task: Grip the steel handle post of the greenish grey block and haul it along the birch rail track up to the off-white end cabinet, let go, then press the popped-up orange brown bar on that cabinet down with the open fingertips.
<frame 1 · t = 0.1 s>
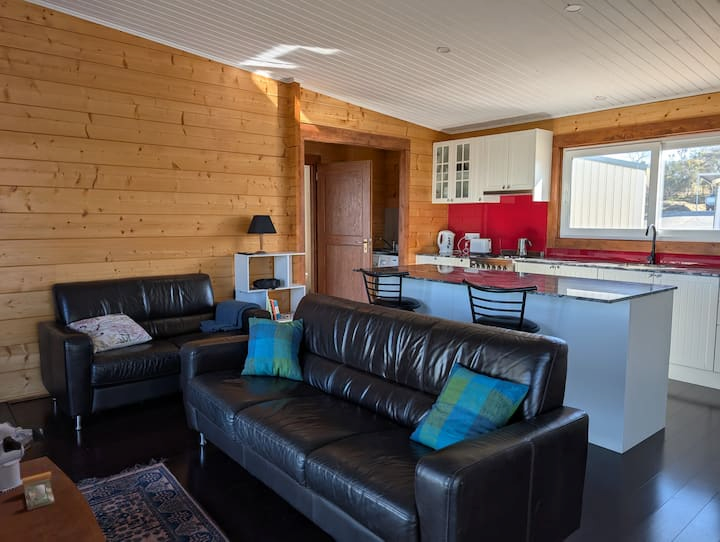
hand: (31, 442, 184), 21 cm above the table, tool horizontal, fingers open, 7 cm apart
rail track: (40, 502, 185), on the table
orange brown bar: (36, 478, 191), point 5 cm above the table, slide at 0.0 cm
greenish grey block: (40, 493, 183), point 4 cm above the table, slide at 0.0 cm
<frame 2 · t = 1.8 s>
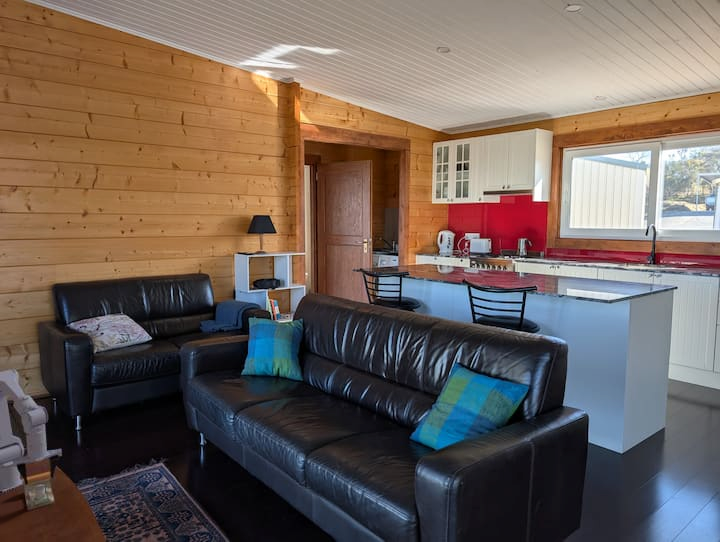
hand: (39, 480, 183), 9 cm above the table, tool pointing down, fingers open, 7 cm apart
nothing on the table moved.
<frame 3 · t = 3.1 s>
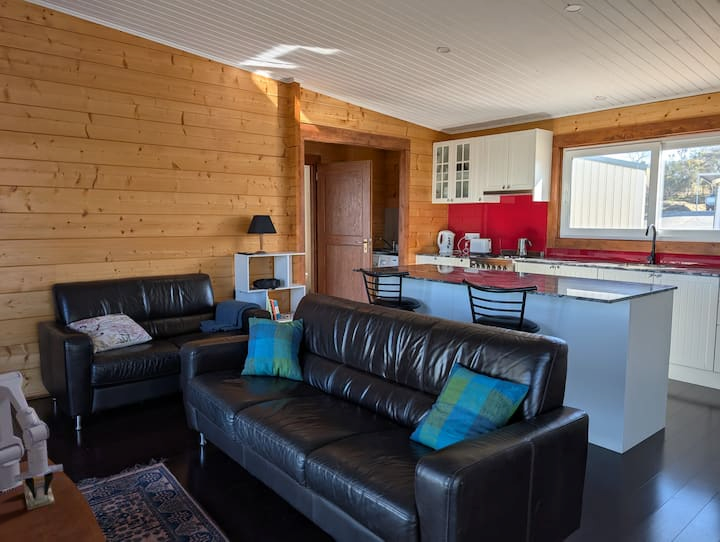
hand: (40, 495, 184), 3 cm above the table, tool pointing down, fingers closed on greenish grey block, 3 cm apart
greenish grey block: (40, 493, 183), point 4 cm above the table, slide at 0.0 cm, touching gripper
everything else where it was.
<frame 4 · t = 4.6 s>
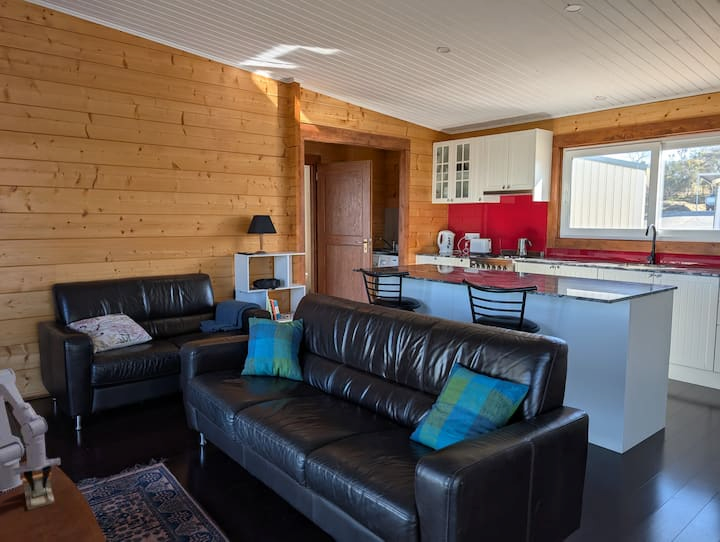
hand: (38, 488, 188), 3 cm above the table, tool pointing down, fingers closed on greenish grey block, 3 cm apart
greenish grey block: (38, 486, 188), point 4 cm above the table, slide at 5.8 cm, touching gripper
everything else where it was.
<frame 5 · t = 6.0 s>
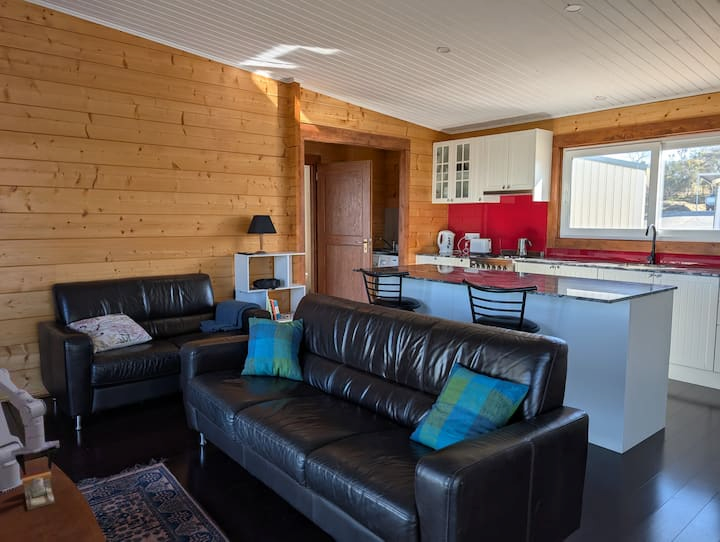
hand: (37, 470, 187), 10 cm above the table, tool pointing down, fingers open, 7 cm apart
greenish grey block: (38, 486, 188), point 4 cm above the table, slide at 5.8 cm
everything else where it was.
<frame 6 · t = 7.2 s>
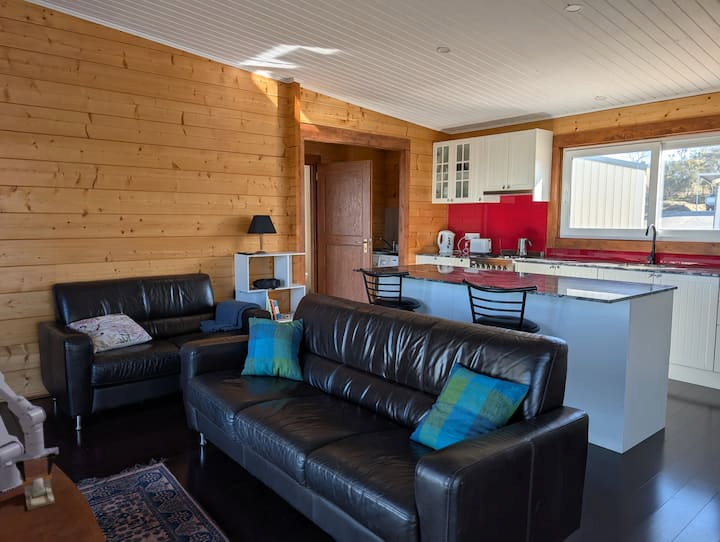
hand: (36, 477, 191), 6 cm above the table, tool pointing down, fingers open, 7 cm apart
orange brown bar: (37, 478, 191), point 5 cm above the table, slide at 0.3 cm, touching gripper
everything else where it was.
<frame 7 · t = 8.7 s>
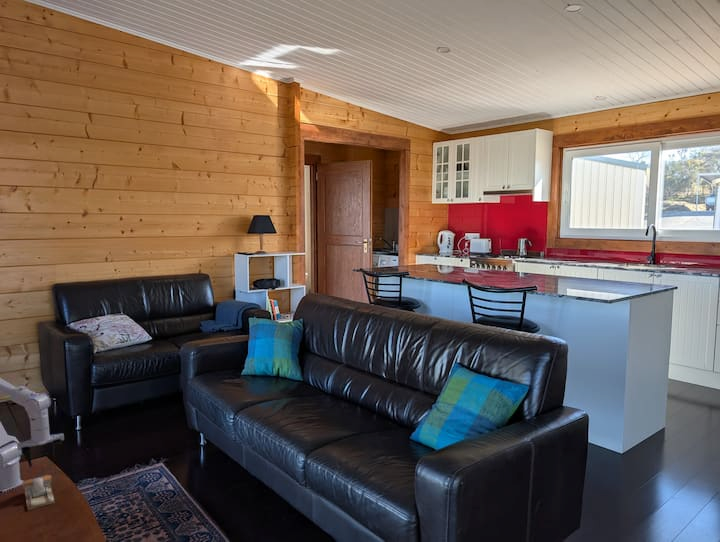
hand: (42, 463, 192), 10 cm above the table, tool pointing down, fingers open, 7 cm apart
orange brown bar: (37, 482, 192), point 4 cm above the table, slide at 1.5 cm, touching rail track
everything else where it was.
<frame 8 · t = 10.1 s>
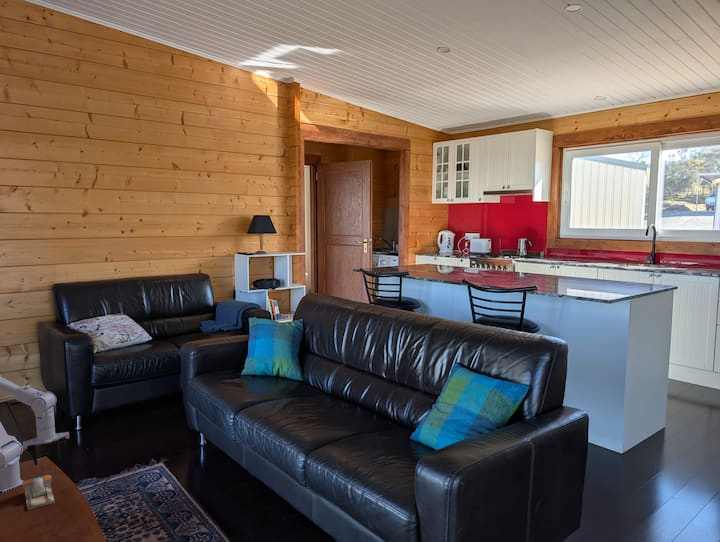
hand: (48, 461, 194), 10 cm above the table, tool pointing down, fingers open, 7 cm apart
nothing on the table moved.
at the end: greenish grey block slide at 5.8 cm; orange brown bar slide at 1.5 cm; the gripper is holding nothing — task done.
